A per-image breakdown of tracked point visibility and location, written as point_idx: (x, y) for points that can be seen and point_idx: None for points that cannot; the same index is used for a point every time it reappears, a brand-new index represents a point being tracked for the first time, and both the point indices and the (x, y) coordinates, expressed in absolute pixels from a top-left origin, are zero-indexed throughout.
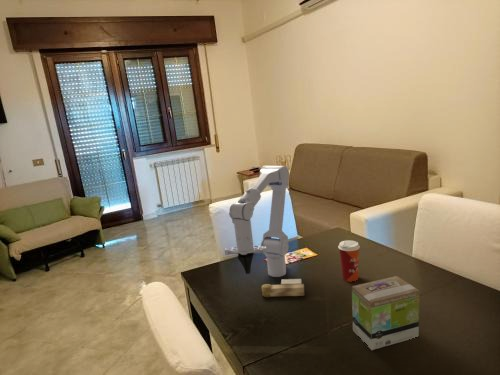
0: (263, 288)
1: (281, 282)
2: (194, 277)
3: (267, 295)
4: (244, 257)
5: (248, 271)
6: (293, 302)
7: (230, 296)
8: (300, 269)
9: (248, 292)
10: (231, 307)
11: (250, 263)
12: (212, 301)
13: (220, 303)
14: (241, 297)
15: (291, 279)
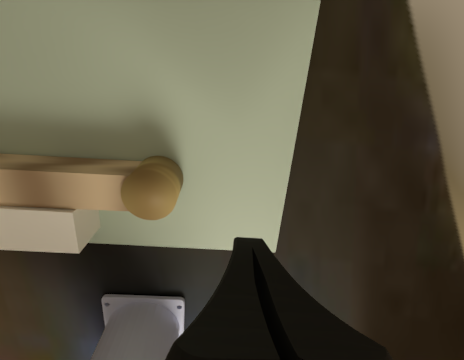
0: (163, 177)
1: (72, 224)
2: (458, 333)
3: (153, 158)
4: None
5: (242, 245)
6: None
7: (327, 197)
8: (64, 350)
9: None
10: (323, 107)
11: (213, 296)
12: (406, 166)
13: (372, 146)
14: None
15: (25, 247)
